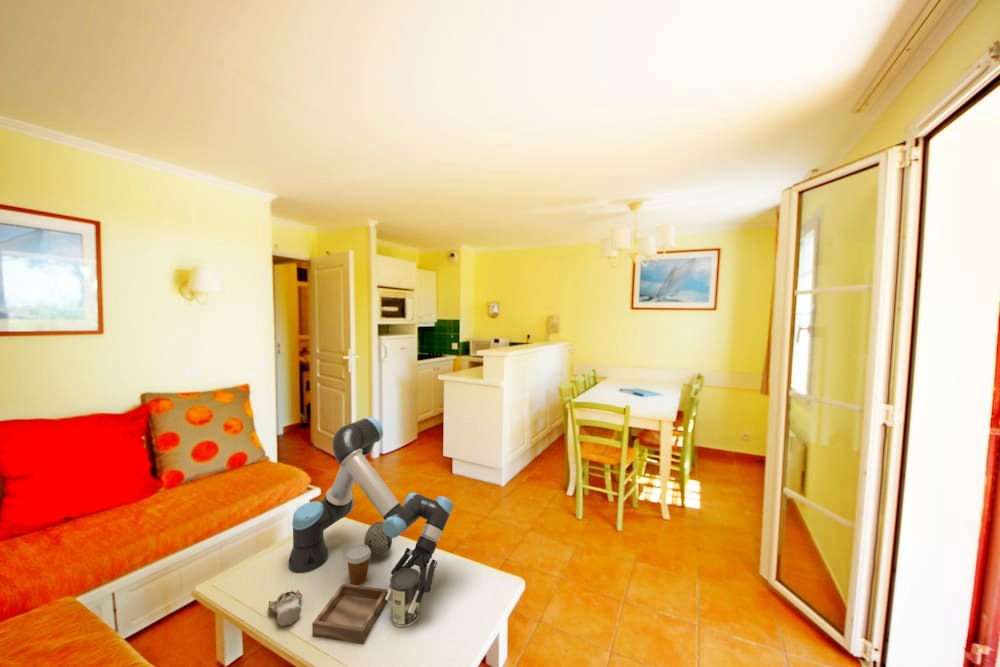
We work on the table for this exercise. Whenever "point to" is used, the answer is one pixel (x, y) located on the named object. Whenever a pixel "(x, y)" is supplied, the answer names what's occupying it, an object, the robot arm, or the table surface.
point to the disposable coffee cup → (358, 563)
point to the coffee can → (404, 596)
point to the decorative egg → (377, 540)
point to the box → (350, 613)
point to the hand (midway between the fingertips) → (399, 606)
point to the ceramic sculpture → (287, 607)
